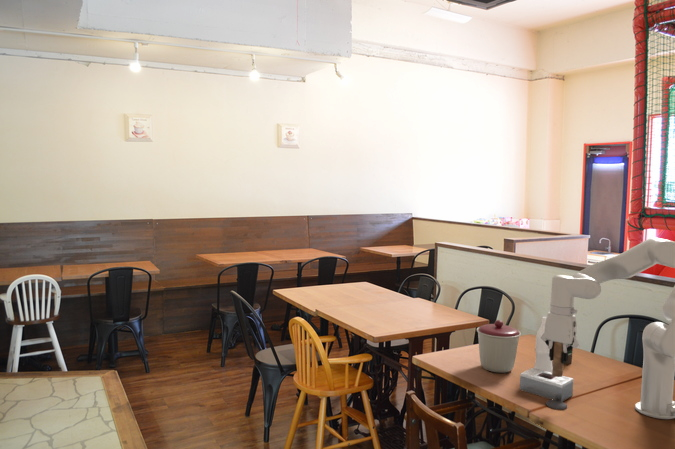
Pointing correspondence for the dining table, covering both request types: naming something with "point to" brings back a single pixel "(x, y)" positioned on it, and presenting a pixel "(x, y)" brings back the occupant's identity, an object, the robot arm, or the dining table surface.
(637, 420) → the dining table surface
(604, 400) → the dining table surface
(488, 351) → the canister
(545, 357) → the water bottle
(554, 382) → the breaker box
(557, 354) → the brown wooden block
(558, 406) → the coaster
